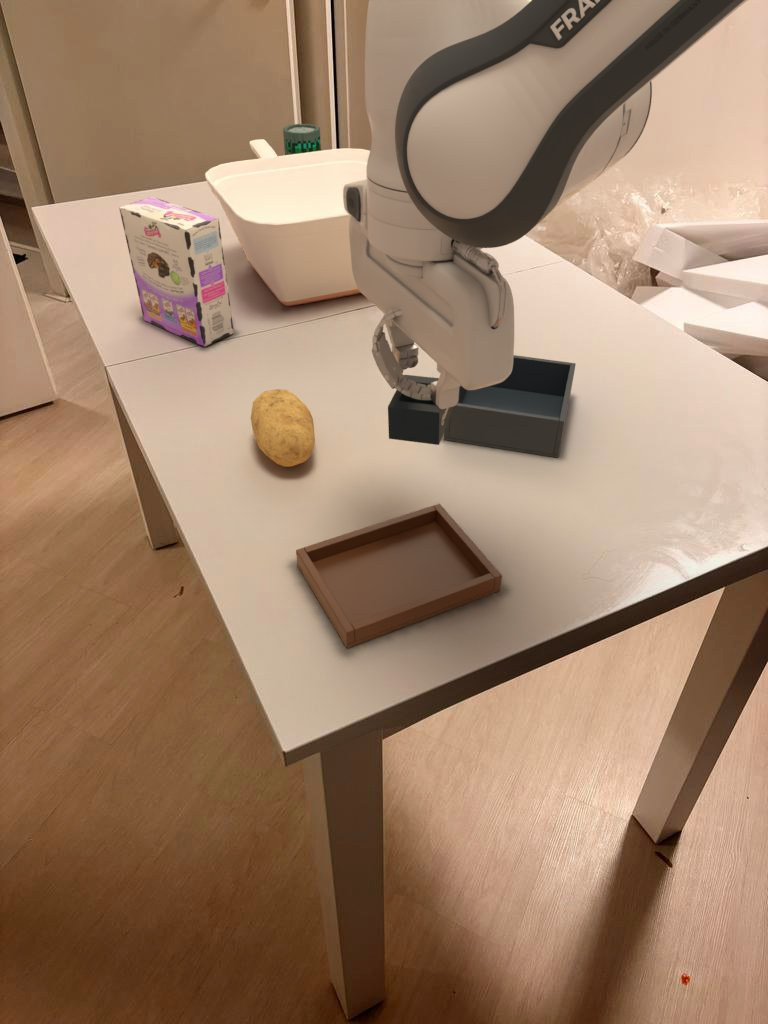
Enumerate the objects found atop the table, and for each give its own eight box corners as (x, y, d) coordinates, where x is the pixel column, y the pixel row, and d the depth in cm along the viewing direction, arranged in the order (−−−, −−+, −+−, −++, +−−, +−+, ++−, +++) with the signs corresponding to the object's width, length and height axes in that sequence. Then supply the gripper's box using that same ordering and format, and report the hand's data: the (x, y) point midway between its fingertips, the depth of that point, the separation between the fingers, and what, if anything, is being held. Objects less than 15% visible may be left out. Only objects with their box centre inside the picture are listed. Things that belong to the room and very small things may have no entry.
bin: (569, 397, 100) (575, 363, 97) (558, 458, 90) (564, 421, 87) (465, 383, 103) (468, 348, 100) (443, 439, 93) (445, 403, 90)
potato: (304, 421, 96) (300, 375, 92) (327, 474, 88) (324, 426, 84) (248, 430, 95) (242, 384, 90) (266, 486, 86) (261, 437, 82)
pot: (260, 334, 113) (249, 229, 103) (187, 228, 144) (173, 139, 134) (441, 298, 122) (446, 198, 112) (335, 205, 153) (332, 121, 143)
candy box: (236, 333, 113) (221, 216, 103) (204, 349, 110) (185, 229, 99) (173, 306, 120) (152, 193, 109) (141, 320, 116) (116, 205, 106)
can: (298, 223, 146) (292, 135, 136) (285, 213, 150) (278, 126, 140) (328, 217, 148) (324, 130, 138) (314, 207, 152) (310, 122, 143)
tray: (438, 518, 82) (439, 503, 81) (500, 590, 74) (502, 575, 73) (296, 565, 77) (295, 549, 76) (346, 648, 69) (346, 633, 68)
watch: (462, 447, 66) (466, 324, 59) (368, 436, 68) (362, 314, 61) (474, 413, 70) (479, 293, 64) (386, 402, 72) (382, 285, 65)
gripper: (548, 258, 51) (525, 437, 60) (404, 170, 66) (403, 325, 74) (462, 276, 49) (451, 459, 58) (333, 181, 64) (340, 339, 72)
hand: (423, 383), depth 66 cm, fingers closed on watch, 5 cm apart
